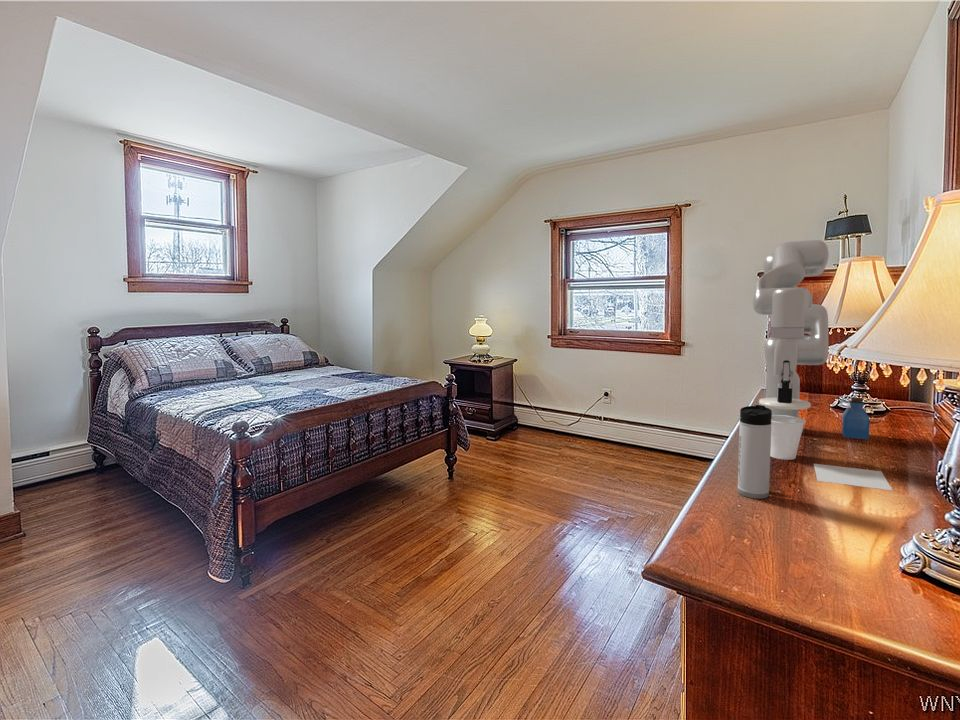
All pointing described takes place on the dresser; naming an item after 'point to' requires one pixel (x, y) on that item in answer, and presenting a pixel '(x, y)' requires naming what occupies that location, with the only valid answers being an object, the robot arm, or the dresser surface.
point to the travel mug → (754, 451)
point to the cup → (785, 436)
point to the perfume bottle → (856, 420)
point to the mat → (851, 476)
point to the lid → (794, 405)
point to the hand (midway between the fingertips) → (784, 400)
